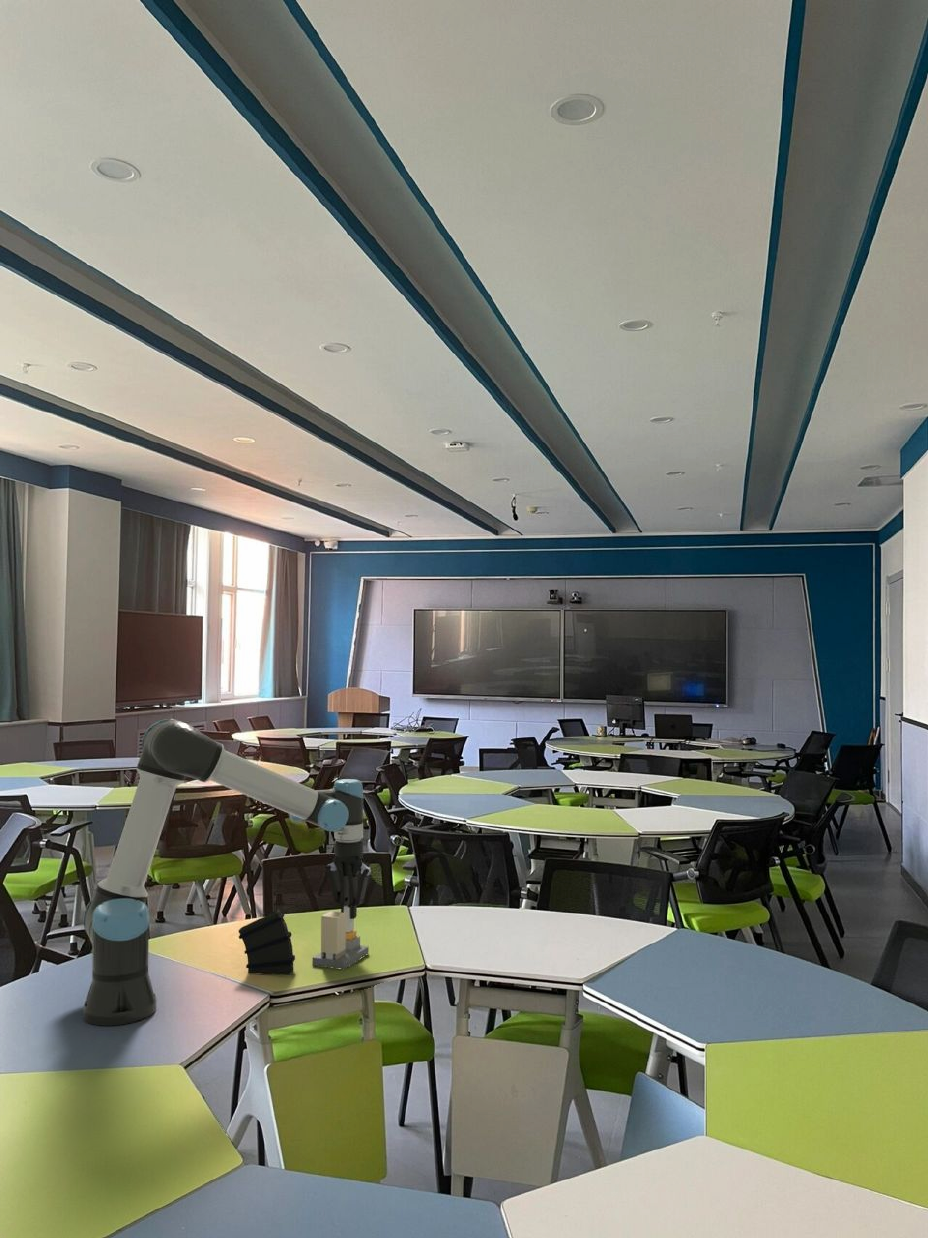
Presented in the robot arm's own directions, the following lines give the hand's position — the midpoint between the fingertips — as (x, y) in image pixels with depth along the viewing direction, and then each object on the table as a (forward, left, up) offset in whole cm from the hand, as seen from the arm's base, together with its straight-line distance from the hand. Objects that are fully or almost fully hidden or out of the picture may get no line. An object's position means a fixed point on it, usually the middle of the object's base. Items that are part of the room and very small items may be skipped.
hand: (348, 930), depth 248 cm
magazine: (-13, -19, -7) cm, 24 cm away
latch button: (0, 0, -3) cm, 3 cm away
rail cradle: (0, -4, -6) cm, 7 cm away
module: (0, -8, -4) cm, 9 cm away
